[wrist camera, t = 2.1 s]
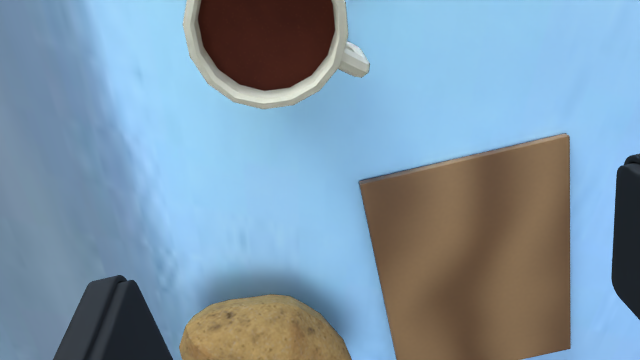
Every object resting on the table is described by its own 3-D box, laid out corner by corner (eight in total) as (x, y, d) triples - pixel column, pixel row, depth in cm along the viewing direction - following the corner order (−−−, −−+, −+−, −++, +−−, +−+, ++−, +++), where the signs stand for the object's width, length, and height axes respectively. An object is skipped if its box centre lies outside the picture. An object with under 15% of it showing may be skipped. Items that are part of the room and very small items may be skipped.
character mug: (370, -23, 35) (419, 13, 23) (319, 75, 37) (339, 151, 26) (210, -113, 32) (174, -124, 20) (167, 0, 34) (112, 48, 23)
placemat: (566, 132, 41) (569, 135, 40) (567, 344, 51) (570, 349, 50) (358, 180, 41) (359, 184, 41) (401, 380, 51) (402, 385, 51)
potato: (214, 245, 43) (203, 313, 36) (366, 302, 47) (383, 374, 40) (169, 331, 46) (151, 408, 39) (314, 378, 50) (321, 456, 43)
